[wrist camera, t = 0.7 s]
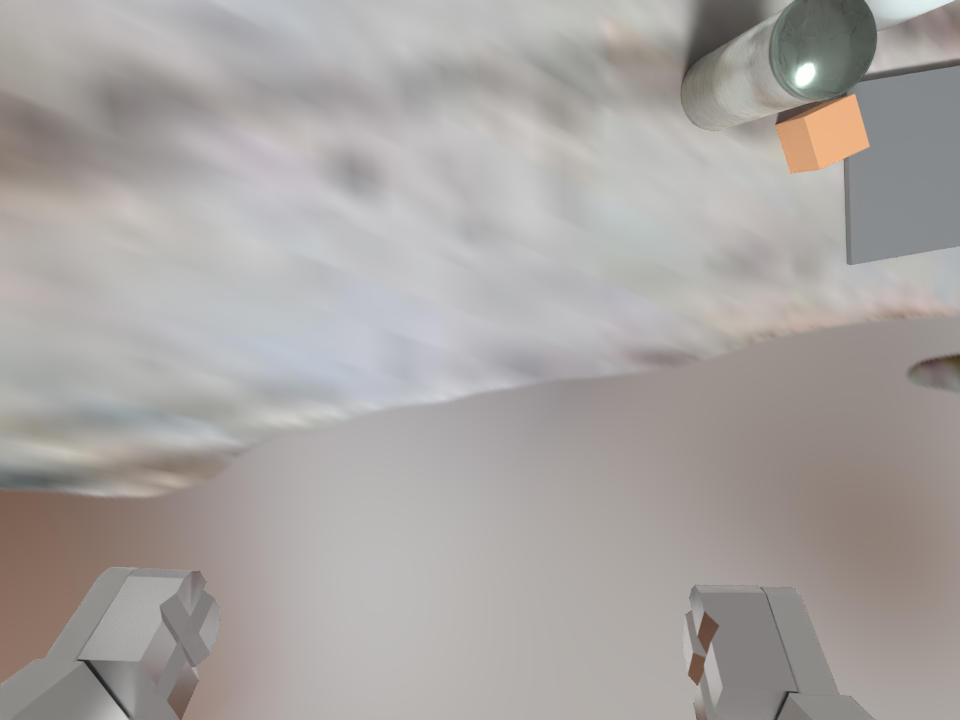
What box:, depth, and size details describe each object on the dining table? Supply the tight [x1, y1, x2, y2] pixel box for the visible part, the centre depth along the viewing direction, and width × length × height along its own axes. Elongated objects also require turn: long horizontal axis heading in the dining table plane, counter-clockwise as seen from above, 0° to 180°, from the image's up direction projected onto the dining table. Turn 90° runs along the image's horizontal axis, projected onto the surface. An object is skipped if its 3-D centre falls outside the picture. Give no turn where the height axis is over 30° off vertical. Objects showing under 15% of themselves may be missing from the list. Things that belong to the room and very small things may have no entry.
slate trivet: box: [842, 66, 960, 265], centre depth 51 cm, size 14×14×1 cm
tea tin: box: [681, 0, 877, 131], centre depth 42 cm, size 6×6×14 cm
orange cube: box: [776, 94, 870, 173], centre depth 48 cm, size 4×4×4 cm
